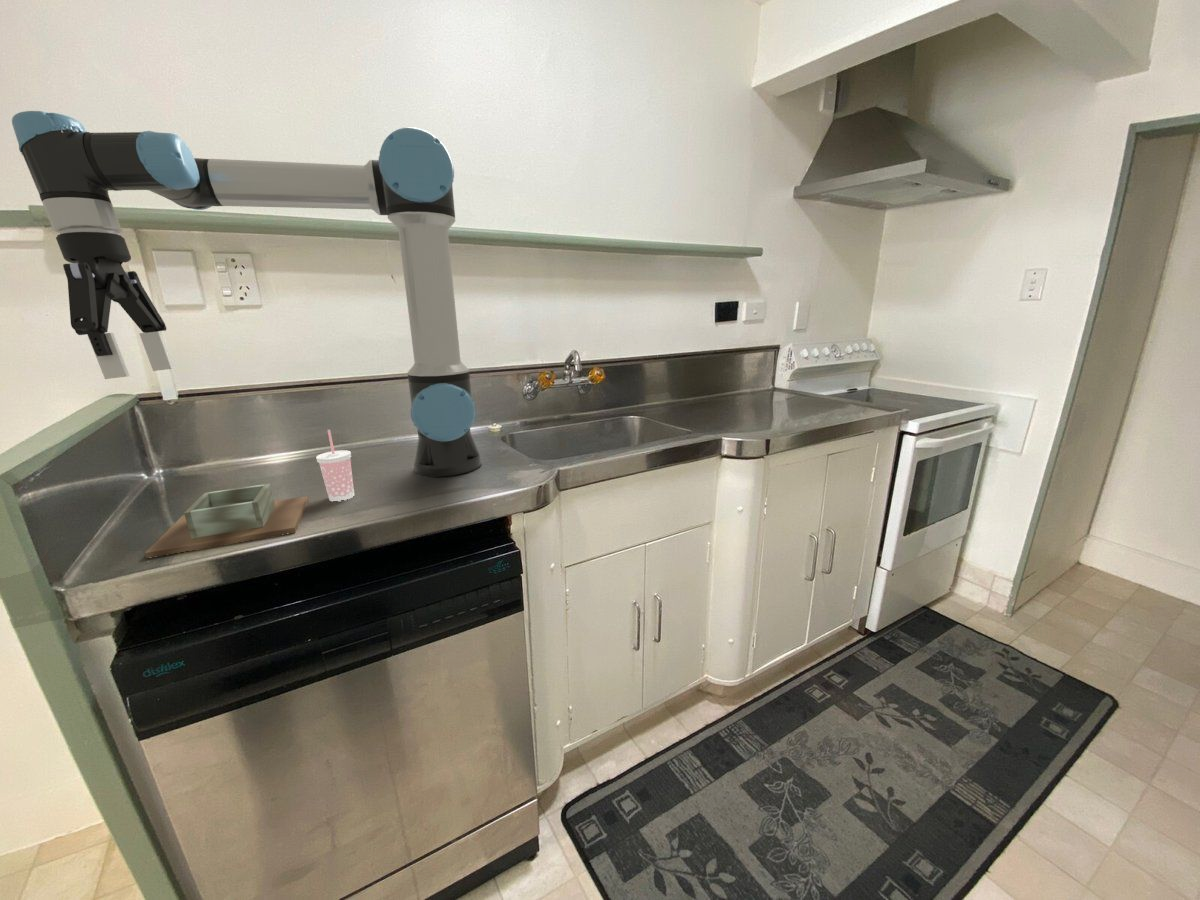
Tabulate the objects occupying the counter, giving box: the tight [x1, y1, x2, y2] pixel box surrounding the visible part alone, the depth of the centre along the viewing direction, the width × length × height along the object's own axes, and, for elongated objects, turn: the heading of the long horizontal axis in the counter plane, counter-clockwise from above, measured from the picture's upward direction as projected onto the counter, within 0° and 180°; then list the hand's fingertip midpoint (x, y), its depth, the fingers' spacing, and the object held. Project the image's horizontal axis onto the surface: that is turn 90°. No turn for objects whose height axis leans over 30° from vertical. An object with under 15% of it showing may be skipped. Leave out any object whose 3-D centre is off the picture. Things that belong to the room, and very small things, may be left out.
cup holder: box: [144, 483, 309, 558], centre depth 85 cm, size 20×16×6 cm
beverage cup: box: [315, 429, 355, 502], centre depth 96 cm, size 6×6×14 cm
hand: (142, 373), depth 80 cm, fingers open, 13 cm apart
